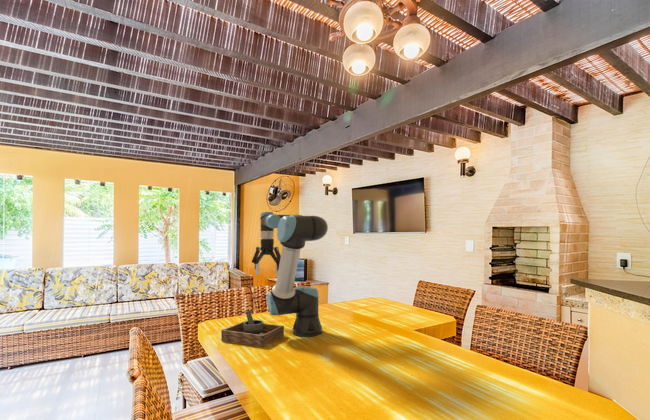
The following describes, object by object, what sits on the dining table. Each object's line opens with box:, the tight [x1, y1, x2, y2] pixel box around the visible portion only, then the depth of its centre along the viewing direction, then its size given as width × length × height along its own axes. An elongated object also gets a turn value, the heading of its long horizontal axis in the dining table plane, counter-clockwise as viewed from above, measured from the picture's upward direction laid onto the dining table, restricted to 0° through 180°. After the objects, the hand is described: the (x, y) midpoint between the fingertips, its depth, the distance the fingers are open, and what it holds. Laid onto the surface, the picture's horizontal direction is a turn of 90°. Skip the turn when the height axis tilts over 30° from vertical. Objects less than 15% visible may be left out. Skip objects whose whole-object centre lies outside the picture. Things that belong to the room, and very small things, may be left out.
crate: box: [220, 320, 285, 348], centre depth 172 cm, size 24×18×5 cm
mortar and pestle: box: [243, 310, 264, 335], centre depth 173 cm, size 11×9×12 cm
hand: (267, 275), depth 202 cm, fingers open, 13 cm apart
